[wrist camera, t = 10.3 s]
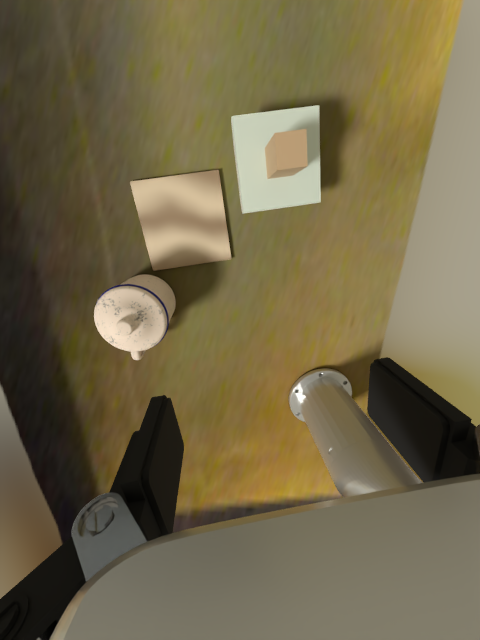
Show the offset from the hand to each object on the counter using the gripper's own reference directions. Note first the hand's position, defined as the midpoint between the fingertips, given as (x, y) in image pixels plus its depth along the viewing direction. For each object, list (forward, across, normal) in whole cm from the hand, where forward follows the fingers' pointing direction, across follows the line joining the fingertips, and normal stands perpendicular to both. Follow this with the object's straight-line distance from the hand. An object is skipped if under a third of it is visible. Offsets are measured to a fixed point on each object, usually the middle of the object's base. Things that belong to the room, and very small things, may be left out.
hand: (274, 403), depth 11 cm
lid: (+26, -7, -14) cm, 30 cm away
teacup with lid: (+30, +14, +3) cm, 34 cm away
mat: (+30, +6, -9) cm, 32 cm away
